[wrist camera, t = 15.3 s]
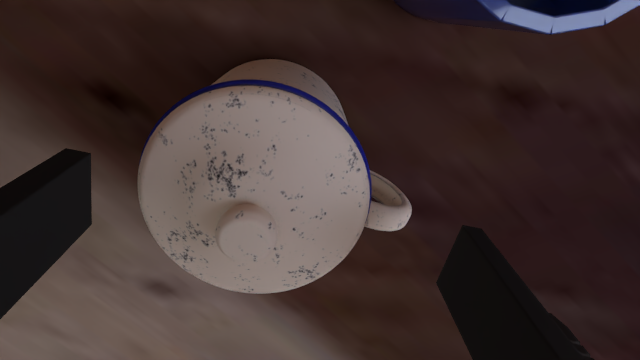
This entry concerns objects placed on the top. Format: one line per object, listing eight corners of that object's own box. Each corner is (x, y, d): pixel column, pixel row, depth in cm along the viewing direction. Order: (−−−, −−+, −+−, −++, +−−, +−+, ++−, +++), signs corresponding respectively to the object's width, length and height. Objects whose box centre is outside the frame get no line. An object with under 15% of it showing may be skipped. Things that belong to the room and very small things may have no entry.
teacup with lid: (182, 175, 24) (81, 312, 13) (217, 28, 20) (117, 50, 10) (360, 229, 26) (397, 385, 15) (419, 103, 22) (521, 189, 12)
